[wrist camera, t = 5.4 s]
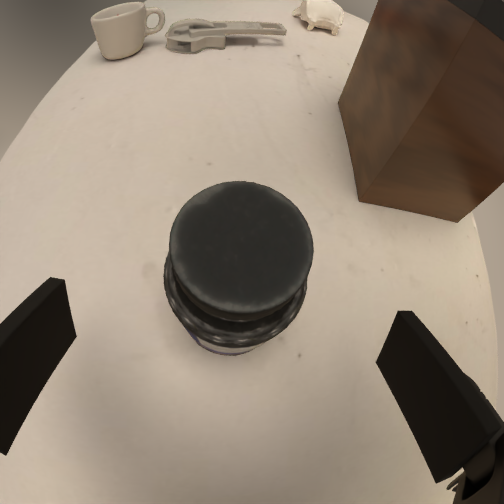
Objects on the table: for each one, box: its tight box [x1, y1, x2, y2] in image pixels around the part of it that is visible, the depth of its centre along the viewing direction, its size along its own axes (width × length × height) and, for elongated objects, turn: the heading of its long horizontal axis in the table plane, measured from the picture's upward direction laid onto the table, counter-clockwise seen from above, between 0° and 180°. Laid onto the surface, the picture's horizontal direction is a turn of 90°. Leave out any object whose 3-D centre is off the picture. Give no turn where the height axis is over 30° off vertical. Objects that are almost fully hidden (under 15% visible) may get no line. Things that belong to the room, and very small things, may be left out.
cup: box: [91, 2, 165, 60], centre depth 29 cm, size 11×8×8 cm
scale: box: [448, 0, 504, 41], centre depth 9 cm, size 15×13×3 cm
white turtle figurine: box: [292, 0, 344, 35], centre depth 40 cm, size 8×8×15 cm
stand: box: [338, 0, 504, 223], centre depth 19 cm, size 15×13×19 cm
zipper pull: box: [165, 19, 287, 54], centre depth 33 cm, size 8×18×4 cm, turn 102°
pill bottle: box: [163, 181, 314, 355], centre depth 14 cm, size 6×6×11 cm
